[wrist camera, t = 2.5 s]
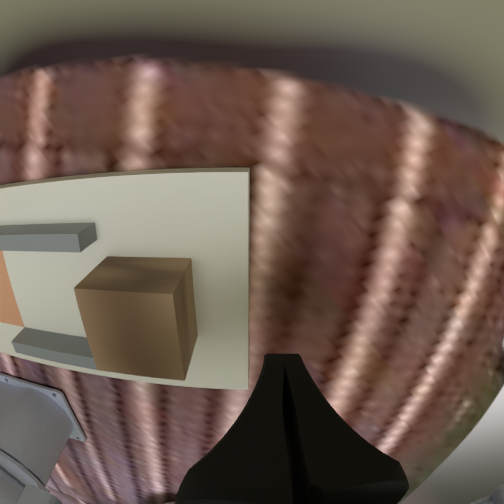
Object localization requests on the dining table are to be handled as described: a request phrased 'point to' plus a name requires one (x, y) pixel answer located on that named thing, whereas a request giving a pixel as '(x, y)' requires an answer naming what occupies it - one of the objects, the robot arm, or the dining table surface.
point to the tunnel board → (126, 245)
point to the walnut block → (140, 315)
